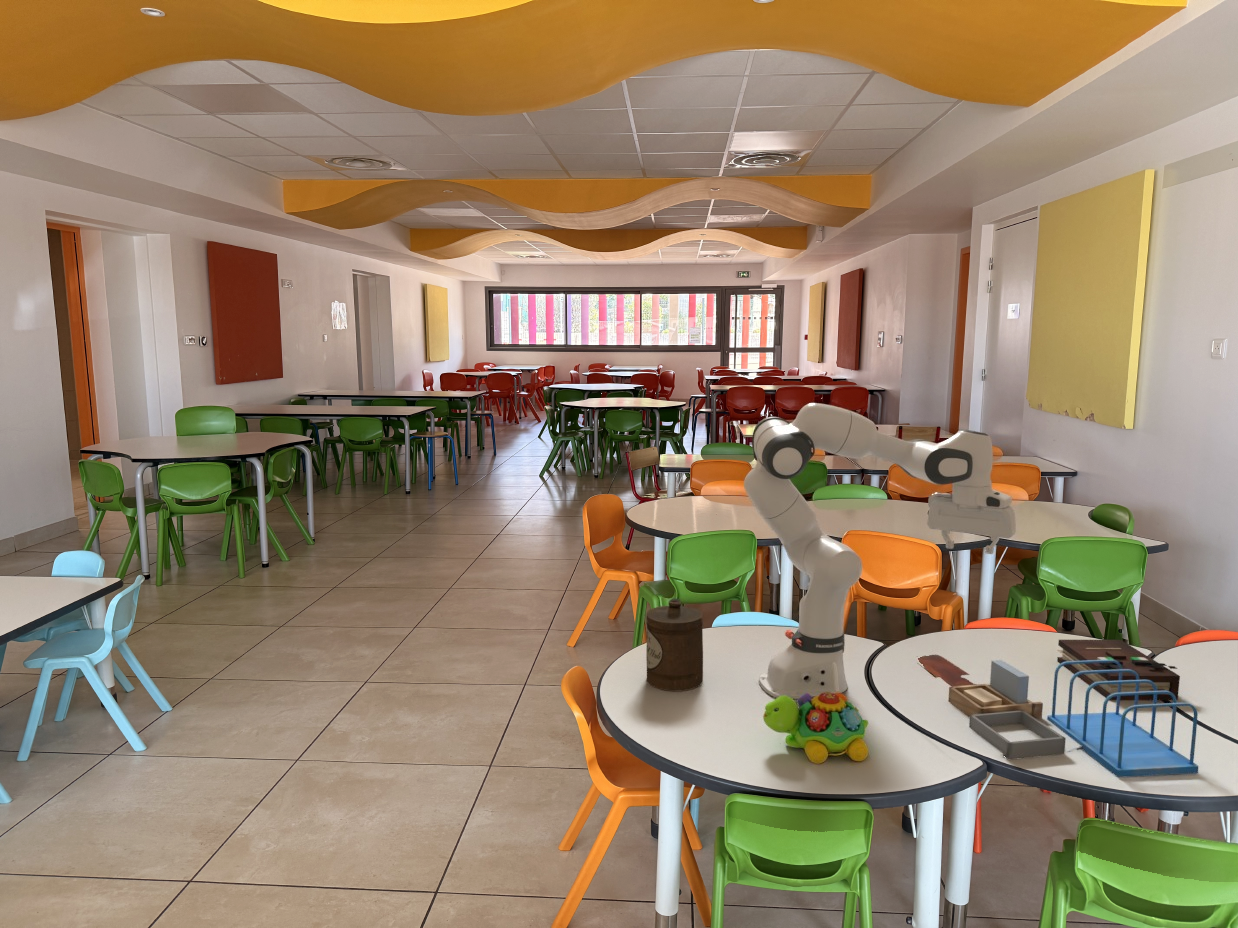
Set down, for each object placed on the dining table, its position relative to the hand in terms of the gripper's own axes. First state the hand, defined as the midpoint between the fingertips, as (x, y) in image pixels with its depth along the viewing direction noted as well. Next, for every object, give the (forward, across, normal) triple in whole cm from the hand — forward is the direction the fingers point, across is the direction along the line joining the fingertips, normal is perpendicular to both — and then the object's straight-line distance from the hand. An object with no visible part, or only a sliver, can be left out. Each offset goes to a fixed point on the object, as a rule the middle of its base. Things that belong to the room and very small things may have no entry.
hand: (969, 550), depth 205 cm
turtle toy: (+36, -16, -50) cm, 64 cm away
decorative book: (+38, +28, +32) cm, 57 cm away
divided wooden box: (+36, +10, -8) cm, 39 cm away
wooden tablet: (+37, -6, +9) cm, 39 cm away
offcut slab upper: (+34, +8, -11) cm, 36 cm away
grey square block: (+36, +12, -6) cm, 38 cm away
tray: (+36, +17, -21) cm, 46 cm away
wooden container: (+36, -61, -40) cm, 81 cm away
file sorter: (+37, +35, -9) cm, 52 cm away
